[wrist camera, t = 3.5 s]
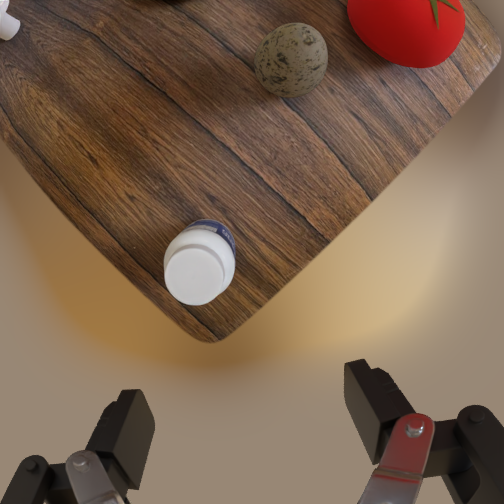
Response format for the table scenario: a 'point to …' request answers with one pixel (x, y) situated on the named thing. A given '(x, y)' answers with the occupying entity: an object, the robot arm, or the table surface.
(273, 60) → the decorative egg
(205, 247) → the pill bottle
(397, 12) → the tomato
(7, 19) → the white ringed tube holder
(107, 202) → the table surface
